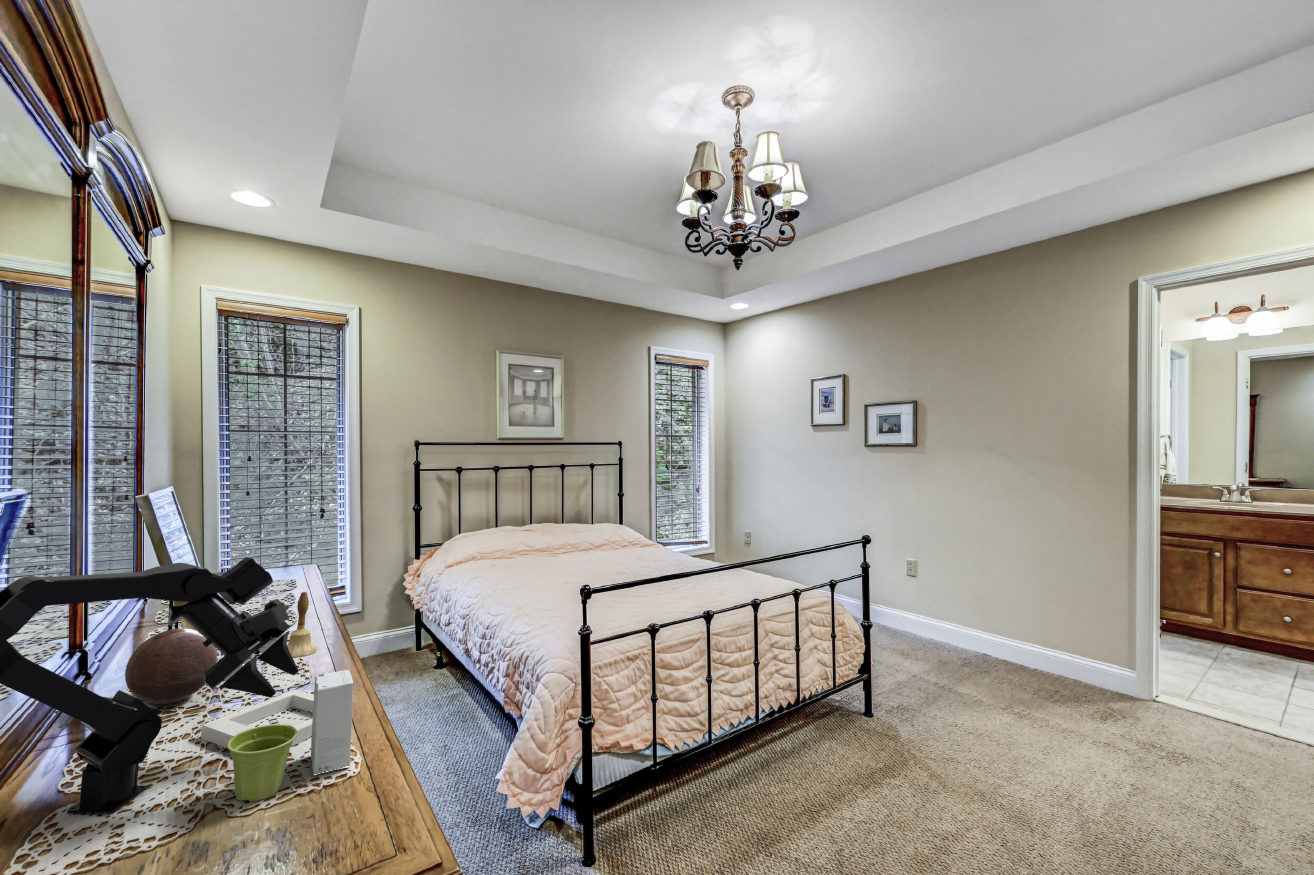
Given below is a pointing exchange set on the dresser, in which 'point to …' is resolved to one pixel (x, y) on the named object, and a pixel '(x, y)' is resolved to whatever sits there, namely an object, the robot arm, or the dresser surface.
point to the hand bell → (301, 632)
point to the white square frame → (236, 722)
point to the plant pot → (260, 760)
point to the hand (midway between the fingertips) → (285, 683)
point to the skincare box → (331, 721)
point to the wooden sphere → (169, 666)
